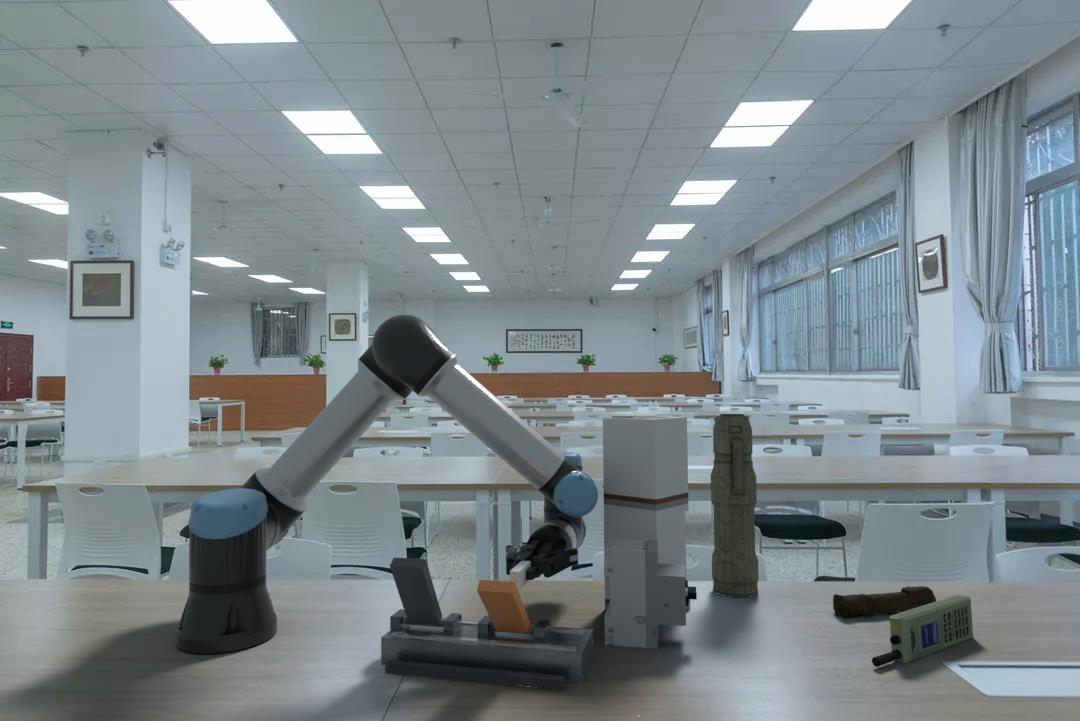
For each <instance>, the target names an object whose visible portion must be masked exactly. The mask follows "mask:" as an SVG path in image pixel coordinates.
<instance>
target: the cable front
mask: <svg viewBox="0 0 1080 721" xmlns="http://www.w3.org/2000/svg"><path fill="white" fill-rule="evenodd" d="M384 666H385V667H384V668H385V671H384V672H385V673H384V674H387V675H397V676H407V677H408V676H409V677H419V678H420V677H421V678H429V679H438V680H439V679H440V680H451V681H461V682H469V683H478V684H479V683H481V684H489V683H491V685H500V684H503V685H502V686H510V685H521V686H531V687H537V688H536V689H541V688H544V689H543V690H551V689H558V690H557V691H561V690H563V689H564V690H565V688H566V682H565V676H561V675H550V674H539V673H529V672H518V671H507V670H496V669H485V668H474V667H463V666H453V665H442V664H431V663H420V662H409V661H398V660H389V661H388V662H386V663H385V665H384ZM492 683H493V684H492ZM504 684H506V685H504ZM564 690H563V691H564Z"/></svg>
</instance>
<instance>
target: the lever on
mask: <svg viewBox="0 0 1080 721" xmlns="http://www.w3.org/2000/svg"><path fill="white" fill-rule="evenodd" d="M389 567H390V571H391V574H392V577H393V580H394V583H395V585H396V589H397V593H398V595H399V598H400V601H401V604H402V607H403V609H404V611H405V614H406V619H405V624H407V625H420V626H432V627H443V620H444V619H442V618H443V614H442V610H441V607H440V604H439V600H438V597H437V592H436V589H435V587H434V583H433V579H432V577H431V573H430V568H429V565H428V562H427V559H425V558H411V557H410V558H409V557H393V559H392V561H391V562H390V565H389Z"/></svg>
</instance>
